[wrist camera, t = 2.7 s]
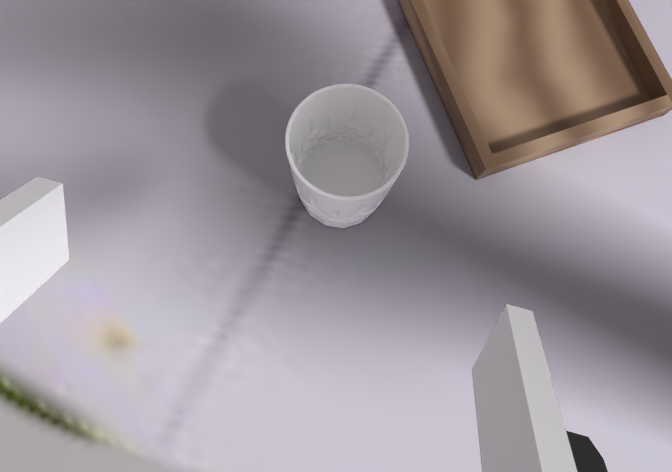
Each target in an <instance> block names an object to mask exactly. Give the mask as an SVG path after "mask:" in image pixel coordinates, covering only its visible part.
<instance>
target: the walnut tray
mask: <svg viewBox="0 0 672 472" xmlns="http://www.w3.org/2000/svg"><path fill="white" fill-rule="evenodd" d="M398 2H399V5H400V7H401V9H402V12H403V14H404V16H405V18H406V21H407V23H408V25H409V28H410V30H411V32H412V34H413V37H414V39H415V41H416V44H417V46H418V48H419V50H420V53H421V55H422V57H423V60H424V62H425V64H426V66H427V69H428V71H429V73H430V76H431V78H432V80H433V82H434V85H435V87H436V89H437V91H438V94H439V96H440V98H441V101H442V103H443V105H444V107H445V110H446V112H447V114H448V117H449V119H450V121H451V123H452V126H453V128H454V130H455V133H456V135H457V137H458V139H459V142H460V144H461V146H462V149H463V151H464V153H465V155H466V158H467V160H468V162H469V164H470V167H471V169H472V171H473V174H474V176H475V178H476V180H477V179H480V178H483V177H486V176H488V175H491V174H494V173H497V172H500V171H503V170H506V169H509V168H512V167H515V166H517V165H520V164H523V163H526V162H529V161H532V160H535V159H538V158H541V157H544V156H547V155H549V154H552V153H555V152H558V151H561V150H564V149H567V148H570V147H573V146H576V145H578V144H581V143H584V142H587V141H590V140H593V139H596V138H599V137H602V136H605V135H608V134H610V133H613V132H616V131H619V130H622V129H625V128H628V127H631V126H634V125H637V124H639V123H642V122H645V121H648V120H651V119H654V118H657V117H660V116H663V115H665V114H666V113H667V112H669V111H670V110H672V79H671V78H670V76H669V74H668V72H667V70H666V68H665V67H664V65H663V63H662V61H661V59H660V57H659V56H658V54H657V52H656V50H655V48H654V46H653V44H652V43H651V41H650V39H649V37H648V35H647V33H646V32H645V30H644V28H643V26H642V24H641V22H640V21H639V19H638V17H637V15H636V13H635V11H634V10H633V8H632V6H631V4H630V2H629V0H398Z"/></svg>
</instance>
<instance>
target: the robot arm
mask: <svg viewBox="0 0 672 472" xmlns="http://www.w3.org/2000/svg"><path fill="white" fill-rule="evenodd" d="M68 260H69V251H68V239H67V227H66V215H65V203H64V191H63V183H60V182H56V181H53V180H49V179H45V178H42V177H38V176H37V177H35V178H34V179H32V180H31V181H29V182H28V183H26V184H24V185H23V186H21V187H20V188H18V189H17V190H15V191H13V192H12V193H10V194H9V195H7V196H5V197H4V198H2V199H1V200H0V323H1V322H2V321H3V320H4V319H5V318H6V317H7V316H9V315H10V314H11V313H12V312H13V311H14V310H15V309H16V308H17V307H18V306H19V305H20V304H22V303H23V302H24V301H25V300H26V299H27V298H28V297H29V296H30V295H31V294H32V293H33V292H35V291H36V290H37V289H38V288H39V287H40V286H41V285H42V284H43V283H44V282H45V281H47V280H48V279H49V278H50V277H51V276H52V275H53V274H54V273H55V272H56V271H57V270H58V269H60V268H61V267H62V266H63V265H64V264H65V263H66V262H67V261H68ZM472 377H473V387H474V397H475V406H476V416H477V426H478V436H479V445H480V455H481V465H482V472H607V469H606V466H605V463H604V460H603V458H602V456H601V455H600V453H599V452H598V450H597V449H596V448H595V446H594V445H593V443H592V442H591V440H590V439H589V437H586V436H583V435H579V434H575V433H572V432H568V431H566V429H565V425H564V422H563V418H562V414H561V411H560V407H559V404H558V400H557V396H556V393H555V389H554V386H553V382H552V379H551V375H550V371H549V368H548V364H547V361H546V357H545V353H544V350H543V346H542V343H541V339H540V335H539V332H538V328H537V325H536V321H535V317H534V314H533V311H531V310H527V309H524V308H520V307H516V306H513V305H509V304H506V306H505V308H504V309H503V311H502V313H501V315H500V317H499V319H498V321H497V323H496V325H495V327H494V329H493V330H492V332H491V334H490V336H489V338H488V340H487V342H486V344H485V346H484V348H483V349H482V351H481V353H480V355H479V357H478V359H477V361H476V363H475V365H474V367H473V369H472Z"/></svg>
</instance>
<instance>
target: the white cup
mask: <svg viewBox="0 0 672 472" xmlns="http://www.w3.org/2000/svg"><path fill="white" fill-rule="evenodd" d="M285 148H286V154H287V157H288V161H289V164H290V168H291V172H292V176H293V180H294V183H295V186H296V189H297V191H298V194H299V196H300V199H301V201H302V203H303V204H304V206H305V208H306V210H307V211H308V213H309V215H310V216H312V217H313V218H315V219H316V220H318V221H319V222H321V223H322V224H324V225H326V226H332V227H338V228H346V227H349V226H353V225H356V224H360V223H362V222H363V221H364V220H365V219H366V218H367V217H369V216H370V215H371V214H372V213H373V212H374V211H375V210H376V208H377V207H378V206H379V205H380V203H381V202H382V201H383V199H384V198H385V197H386V195H387V194H388V192H389V191H390V189H391V188H392V186H393V184H394V183H395V181H396V179H397V178H398V176H399V175H400V173H401V172H402V170H403V168H404V166H405V164H406V161H407V158H408V154H409V133H408V129H407V125H406V123H405V120H404V118H403V116H402V115H401V113H400V111H399V110H398V109H397V107H396V106H395V105H394V104H393V103H392V102H391V101H390V100H389V99H388V98H386V97H385V96H384V95H382V94H381V93H379V92H377V91H375V90H373V89H371V88H368V87H365V86H361V85H356V84H336V85H331V86H327V87H324V88H321V89H319V90H317V91H315V92H313V93H312V94H310V95H309V96H307V97H306V98H305V99H304V100H303V101H302V102H301V103H300V104H299V105H298V106H297V107H296V109H295V110H294V112H293V113H292V115H291V117H290V119H289V122H288V125H287V128H286V134H285Z"/></svg>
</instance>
